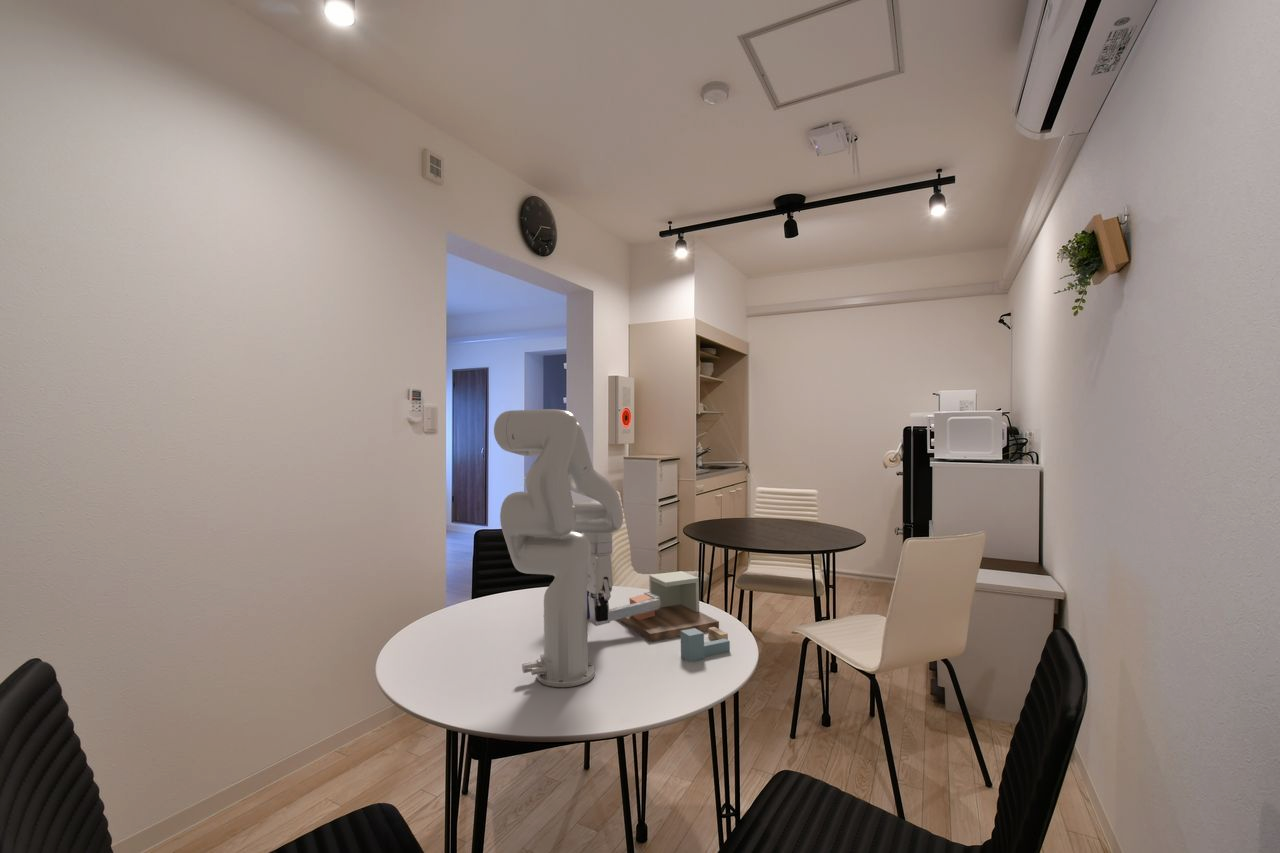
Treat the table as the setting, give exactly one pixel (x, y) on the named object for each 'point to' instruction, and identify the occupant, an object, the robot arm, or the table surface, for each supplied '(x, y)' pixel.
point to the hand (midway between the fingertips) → (598, 617)
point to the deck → (670, 622)
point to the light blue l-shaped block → (700, 645)
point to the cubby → (676, 589)
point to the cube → (640, 599)
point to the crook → (623, 609)
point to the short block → (717, 634)
